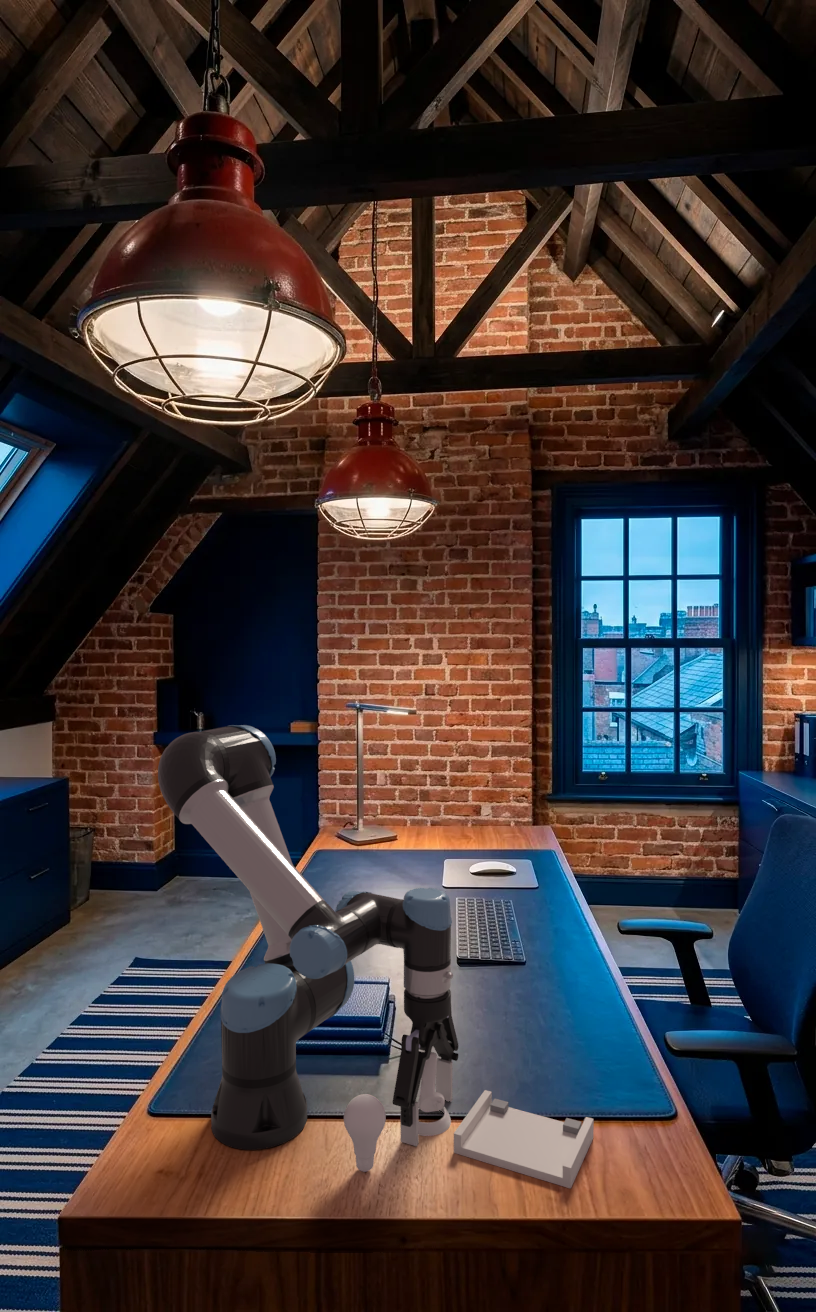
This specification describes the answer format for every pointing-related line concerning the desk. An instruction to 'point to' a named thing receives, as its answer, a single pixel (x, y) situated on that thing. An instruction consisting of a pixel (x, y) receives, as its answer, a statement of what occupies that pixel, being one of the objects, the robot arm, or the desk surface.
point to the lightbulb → (364, 1127)
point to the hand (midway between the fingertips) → (427, 1120)
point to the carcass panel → (524, 1141)
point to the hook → (432, 1100)
